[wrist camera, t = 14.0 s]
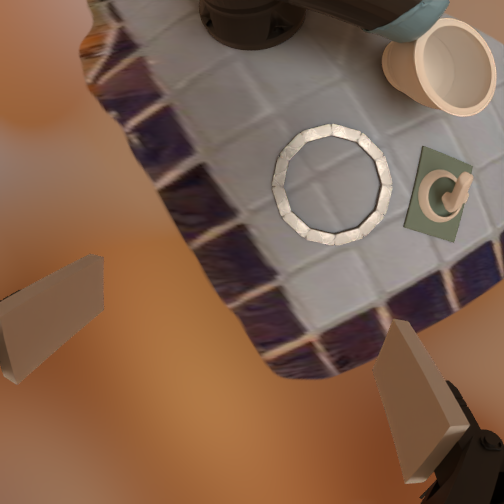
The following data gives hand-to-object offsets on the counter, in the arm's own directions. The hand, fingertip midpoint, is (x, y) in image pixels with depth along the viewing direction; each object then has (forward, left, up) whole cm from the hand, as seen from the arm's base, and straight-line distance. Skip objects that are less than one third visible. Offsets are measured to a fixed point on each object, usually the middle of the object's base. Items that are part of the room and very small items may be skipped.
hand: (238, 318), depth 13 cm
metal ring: (-5, +7, -31) cm, 33 cm away
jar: (-25, +14, -30) cm, 42 cm away
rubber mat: (-8, +23, -31) cm, 40 cm away
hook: (-8, +23, -31) cm, 39 cm away
